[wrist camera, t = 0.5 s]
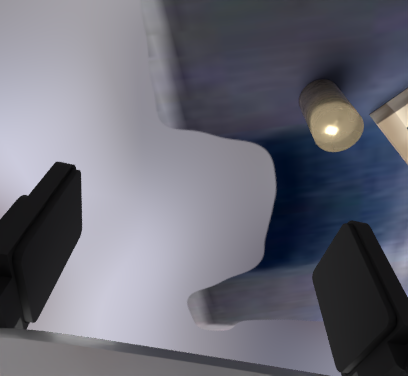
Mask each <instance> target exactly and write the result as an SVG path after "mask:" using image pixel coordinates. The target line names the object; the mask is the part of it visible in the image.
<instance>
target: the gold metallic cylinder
mask: <svg viewBox="0 0 408 376" xmlns="http://www.w3.org/2000/svg"><path fill="white" fill-rule="evenodd" d="M299 106H300V109H301V111H302V113H303V115H304V118H305V120H306V122H307V124H308V126H309V129H310V131H311V133H312V135H313V138H314V140H315V142H316V144H317V145H318V146H319V147H320V148H321V149H323V150H325V151H329V152H338V151H343V150H345V149H347V148H349V147H351V146H352V145H354V144H355V143H356V142H357V141H358V140H359V138H360V137H361V135H362V132H363V128H364V124H363V120H362V118H361V116H360V115H359V114H358V112H357V111H356V110H355V108H354V107H353V106H352V105H351V103H350V102H349V101H348V100H347V98H346V97H345V96H344V94H343V93H342V92H341V91H340V89H339V88H338V87H337V86H336V84H335V83H333V82H332V81H329V80H325V79H321V80H316V81H314V82H311V83H310V84H308V85H307V86H306V87H305V88H304V89H303V91H302V92H301V95H300V98H299Z"/></svg>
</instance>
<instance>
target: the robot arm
mask: <svg viewBox="0 0 408 376" xmlns="http://www.w3.org/2000/svg"><path fill="white" fill-rule="evenodd" d="M81 231H82V201H81V172H80V170H76V167H75V165H72V164H67V163H62V162H56V163H55V164H54V165H53V166H52V167H51V168H50V170H49V171H48V172H47V173H46V175H45V176H44V177H43V178H42V179H41V181H40V182H39V183H38V184H37V186H36V187H35V188H34V189H33V190H32V192H31V193H30V194H29V196H27V195H23V196H21V197H19V198H18V200H16V202H15V203H14V204H13V205H12V206H11V208H10V209H9V210H8V211H7V212H6V213H5V215H4V216H3V217H2V218H1V219H0V376H328V375H321V374H316V373H310V372H304V371H298V370H292V369H286V368H279V367H274V366H267V365H261V364H255V363H249V362H243V361H236V360H230V359H224V358H218V357H212V356H205V355H199V354H192V353H186V352H180V351H173V350H167V349H161V348H154V347H148V346H141V345H135V344H129V343H122V342H116V341H109V340H103V339H96V338H89V337H82V336H75V335H68V334H60V333H53V332H45V331H36V330H26V329H27V327H28V324H29V323H30V322H32V323H34V322H36V321H37V319H38V317H39V316H40V314H41V312H42V310H43V308H44V306H45V304H46V302H47V300H48V298H49V296H50V294H51V292H52V290H53V288H54V286H55V284H56V283H57V281H58V279H59V277H60V275H61V273H62V271H63V269H64V267H65V265H66V263H67V261H68V259H69V257H70V255H71V253H72V251H73V249H74V248H75V246H76V244H77V242H78V239H79V238H80V235H81ZM312 279H313V284H314V287H315V291H316V295H317V299H318V302H319V306H320V310H321V314H322V317H323V321H324V325H325V328H326V332H327V336H328V340H329V344H330V347H331V351H332V355H333V358H334V362H335V365H336V368H337V370H338V371H339V372H341V375H342V376H408V297H407V295H406V293H405V292H404V290H403V288H402V286H401V284H400V282H399V280H398V278H397V276H396V275H395V273H394V271H393V269H392V267H391V265H390V263H389V261H388V259H387V258H386V256H385V254H384V252H383V250H382V248H381V246H380V244H379V243H378V241H377V239H376V237H375V235H374V233H373V231H372V229H371V227H370V226H369V225H368V224H366V223H362V222H357V221H349V222H348V223H347V224H343V225H342V227H341V228H340V230H339V231H338V233H337V235H336V236H335V238H334V239H333V241H332V243H331V244H330V246H329V247H328V249H327V251H326V252H325V254H324V255H323V257H322V258H321V260H320V262H319V263H318V265H317V266H316V268H315V270H314V272H313V276H312Z"/></svg>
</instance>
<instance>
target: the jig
mask: <svg viewBox="0 0 408 376" xmlns="http://www.w3.org/2000/svg"><path fill="white" fill-rule="evenodd" d="M370 116H371V118H372V119H373V120H374V122H375V123H376V124H377V125H378V127H379V128H380V129H381V131H382V132H383V133H384V135H385V136H386V137H387V139H388V140H389V141H390V142H391V144H392V145H393V146H394V148H395V149H396V150H397V152H398V153H399V154H400V156H401V157H402V158H403V159H404V161H405V162H406V163H407V165H408V129H407V127H408V88H407V89H406V90H404V91H403V92H401V93H400V94H399V95H397V96H396V97H394V98H393V99H391V100H390V101H389V102H387V103H386V104H384V105H383V106H381V107H380V108H379V109H377V110H376V111H374V112H373V113H371V114H370Z"/></svg>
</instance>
